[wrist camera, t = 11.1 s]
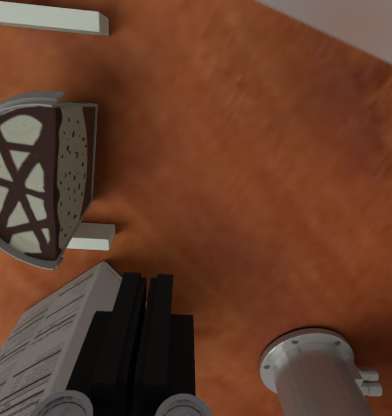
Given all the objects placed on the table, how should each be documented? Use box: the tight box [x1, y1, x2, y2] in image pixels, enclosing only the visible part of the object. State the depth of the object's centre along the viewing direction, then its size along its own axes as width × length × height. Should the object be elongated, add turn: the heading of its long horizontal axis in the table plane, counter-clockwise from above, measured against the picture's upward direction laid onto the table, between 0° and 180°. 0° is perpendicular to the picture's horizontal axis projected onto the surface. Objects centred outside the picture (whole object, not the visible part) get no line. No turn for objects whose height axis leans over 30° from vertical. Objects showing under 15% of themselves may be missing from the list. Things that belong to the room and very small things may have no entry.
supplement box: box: [0, 261, 147, 416], centre depth 28 cm, size 13×13×18 cm
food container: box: [0, 91, 98, 270], centre depth 23 cm, size 12×6×10 cm, turn 169°
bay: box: [0, 1, 115, 250], centre depth 25 cm, size 13×19×3 cm
